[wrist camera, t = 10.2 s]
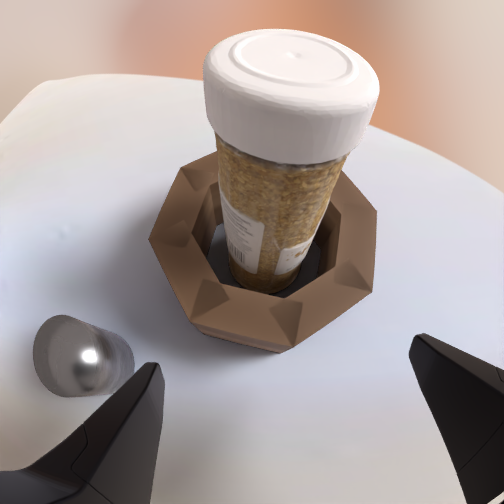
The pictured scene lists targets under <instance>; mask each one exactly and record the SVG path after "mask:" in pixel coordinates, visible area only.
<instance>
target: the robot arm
mask: <svg viewBox="0 0 504 504" xmlns="http://www.w3.org/2000/svg"><path fill="white" fill-rule="evenodd" d="M409 359H410V362H411V364H412V367H413V370H414V372H415V375H416V378H417V380H418V383H419V386H420V389H421V391H422V393H423V395H424V397H425V400H426V402H427V404H428V406H429V408H430V410H431V412H432V415H433V417H434V419H435V421H436V424H437V426H438V428H439V431H440V433H441V435H442V438H443V440H444V442H445V445H446V447H447V450H448V452H449V455H450V457H451V460H452V462H453V465H454V468H455V470H456V473H457V476H458V479H459V482H460V485H461V487H462V490H463V493H464V496H465V499H466V503H467V504H487V503H489V502H490V501H492V500H493V499H494V498H496V497H497V496H498V495H500V494H501V493H502V492H504V370H502V369H500V368H498V367H495V366H494V365H491V364H489V363H487V362H485V361H483V360H481V359H479V358H476V357H474V356H472V355H470V354H468V353H466V352H464V351H462V350H459V349H457V348H455V347H453V346H451V345H449V344H447V343H445V342H442V341H440V340H438V339H436V338H434V337H432V336H430V335H427V334H425V333H422V334H418V335H415V337H414V338H413V341H412V344H411V347H410V350H409ZM164 390H165V381H164V378H163V374H162V371H161V368H160V365H159V364H158V363H156V362H147V363H145V364H144V365H143V366H142V367H141V368H140V369H139V370H138V371H137V372H136V373H135V374H134V375H133V376H131V377H130V378H129V379H128V380H127V381H126V382H125V383H124V384H123V385H122V386H121V387H120V388H119V389H118V390H117V391H116V392H115V393H114V394H113V395H112V396H111V397H110V398H109V399H108V400H107V401H105V402H104V403H103V404H102V405H101V406H100V407H99V408H98V409H97V410H96V411H95V412H94V413H93V414H92V415H91V416H90V417H89V418H88V419H87V420H86V421H85V422H84V424H81V425H80V426H79V427H78V428H77V429H76V430H75V431H74V432H73V433H72V434H71V435H69V436H68V437H67V438H66V439H65V440H64V441H62V442H61V443H60V444H59V445H57V446H56V447H55V448H53V449H52V450H51V451H49V452H48V453H47V454H45V455H44V456H43V457H41V458H40V459H39V460H37V461H36V462H34V463H33V464H32V465H30V466H28V467H26V468H24V469H21V470H15V471H0V504H150V499H151V492H152V485H153V478H154V471H155V465H156V459H157V452H158V447H159V441H160V435H161V429H162V421H163V405H164ZM499 504H504V500H503V501H501V502H500V503H499Z"/></svg>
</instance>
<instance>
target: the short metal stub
mask: <svg viewBox="0 0 504 504" xmlns="http://www.w3.org/2000/svg"><path fill="white" fill-rule="evenodd" d="M33 360H34V365H35V369H36V372H37V374H38V376H39V378H40V380H41V382H42V383H43V384H44V386H45V387H46V388H47V389H48V390H49V391H51V392H52V393H54V394H56V395H58V396H61V397H82V396H94V395H105V394H114V393H115V392H116V391H117V390H118V389H119V388H120V387H121V386H122V385H123V384H124V383H125V382H126V381H127V380H128V379H129V378H130V377H131V376H133V374H134V357H133V353H132V351H131V349H130V347H129V345H128V344H127V342H126V341H125V340H124V339H123V338H121V337H120V336H119V335H117V334H115V333H112V332H109V331H107V330H104V329H101V328H98V327H96V326H93V325H91V324H88V323H85V322H83V321H80V320H78V319H75V318H73V317H70V316H67V315H57V316H54V317H51V318H50V319H48V320H47V321H46V322H45V323H44V324H43V325H42V326H41V327H40V329H39V330H38V332H37V335H36V337H35V341H34V346H33Z"/></svg>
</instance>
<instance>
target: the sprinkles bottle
mask: <svg viewBox="0 0 504 504" xmlns="http://www.w3.org/2000/svg"><path fill="white" fill-rule="evenodd" d="M203 80H204V95H205V104H206V113H207V117H208V120H209V122H210V124H211V126H212V128H213V129H214V132H215V137H216V147H217V154H218V164H219V173H218V179H219V190H220V197H221V205H222V212H223V220H224V228H225V235H226V242H227V247H228V250H229V254H228V261H229V267H230V271H231V273H232V275H233V277H234V278H235V279H236V281H237V282H238V283H239V284H240V285H241V286H243V287H244V288H246V289H248V290H250V291H254V292H258V293H263V294H272V293H276V292H278V291H280V290H283V289H285V288H287V287H288V286H289V285H290V284H291V283H292V282H293V281H294V280H295V278H296V277H297V275H298V273H299V271H300V268H301V262H302V260H303V259H304V257H305V256H306V254H307V252H308V249H309V247H310V245H311V243H312V240H313V238H314V236H315V234H316V231H317V229H318V227H319V224H320V222H321V220H322V218H323V216H324V213H325V211H326V209H327V206H328V203H329V200H330V195H331V193H332V191H333V188H334V186H335V184H336V182H337V180H338V178H339V174H340V172H341V169H342V167H343V165H344V162H345V160H346V158H347V156H348V155H349V154H350V152H351V151H352V150H353V149H354V148H355V147H356V146H357V145H358V144H359V142H360V141H361V139H362V138H363V136H364V133H365V131H366V129H367V126H368V124H369V121H370V119H371V116H372V114H373V111H374V108H375V105H376V102H377V99H378V95H379V81H378V78H377V76H376V73H375V72H374V70H373V69H372V68H371V66H370V65H369V64H368V63H367V62H366V61H365V60H364V59H363V58H362V57H361V56H360V55H358V54H357V53H355V52H354V51H353V50H351V49H349V48H348V47H346V46H344V45H342V44H340V43H338V42H336V41H334V40H331V39H328V38H325V37H322V36H319V35H316V34H312V33H307V32H302V31H296V30H286V29H262V30H254V31H248V32H244V33H240V34H237V35H234V36H231V37H229V38H226V39H224V40H223V41H221V42H219V43H218V44H217V45H215V46H214V47H213V48H212V49H211V50H210V51H209V52H208V54H207V55H206V58H205V60H204V64H203Z"/></svg>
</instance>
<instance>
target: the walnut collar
mask: <svg viewBox="0 0 504 504" xmlns="http://www.w3.org/2000/svg"><path fill="white" fill-rule="evenodd" d="M218 173H219V164H218V154H217V151H216V152H214V153H211V154H209V155H207V156H204V157H202V158H200V159H198V160H196V161H193V162H191V163H189V164H187V165H185V166H183V167H181V168H180V170H179V172H178V174H177V176H176V178H175V180H174V182H173V184H172V186H171V189H170V191H169V193H168V195H167V197H166V199H165V202H164V204H163V206H162V208H161V211H160V213H159V215H158V218H157V220H156V222H155V225H154V227H153V229H152V232H151V234H150V237H149V239H148V240H149V241H150V243H151V246H152V248H153V250H154V252H155V254H156V256H157V258H158V260H159V262H160V265H161V267H162V269H163V271H164V273H165V275H166V277H167V279H168V281H169V283H170V285H171V287H172V289H173V291H174V293H175V295H176V296H177V298H178V300H179V302H180V304H181V306H182V308H183V310H184V312H185V313H186V315H187V317H188V319H189V321H190V322H191V323H192V324H193V325H194V326H195V327H196V328H197V329H198V330H200V331H201V332H202V333H203V334H205V335H209V336H212V337H216V338H220V339H223V340H227V341H231V342H235V343H239V344H243V345H247V346H251V347H256V348H260V349H264V350H269V351H273V352H278V353H283V352H285V351H287V350H289V349H291V348H293V347H294V346H296V345H297V344H299V343H301V342H302V341H304V340H305V339H307V338H308V337H310V336H311V335H313V334H314V333H316V332H317V331H319V330H320V329H321V328H323V327H324V326H326V325H327V324H329V323H330V322H332V321H333V320H334V319H336V318H337V317H339V316H340V315H341V314H343V313H344V312H346V311H347V310H348V309H350V308H351V307H352V306H354V305H355V304H356V303H358V302H359V301H360V300H362V299H363V298H364V297H366V296H367V295H369V294H370V293H371V292H372V288H373V277H374V265H375V249H376V224H377V211H376V210H375V208H374V207H373V206H372V205H371V203H370V202H369V201H368V200H367V199H366V197H365V196H364V195H363V194H362V193H361V192H360V190H359V189H358V188H357V187H356V186H355V185H354V184H353V182H352V181H351V180H350V179H349V178H348V177H347V176H346V174H345V173H344V172H343V171H342V170H341V172H340V174H339V178H338V180H337V182H336V184H335V186H334V188H333V191H332V193H331V195H330V200H329V203H328V206H327V209H326V211H325V213H324V216H323V218H322V220H321V222H320V224H319V227H318V229H317V231H316V234H315V236H314V238H313V239H314V241H315V242H316V243H317V245H318V246H319V247H320V249H321V255H320V261H319V268H318V274H317V279H315V280H314V281H312V282H310V283H309V284H307V285H306V286H304V287H303V288H301V289H299V290H298V291H296V292H295V293H293V294H291V295H290V296H288V297H286V298H285V299H284V298H280V297H276V296H271V295H267V294H263V293H258V292H254V291H250V290H246V289H242V288H238V287H234V286H230V285H226V284H222V283H220V282H219V280H218V278H217V277H216V275H215V273H214V272H213V270H212V268H211V266H210V265H209V263H208V261H207V260H206V256H207V253H208V250H209V247H210V244H211V241H212V238H213V235H214V232H215V229H216V226H217V225H219V224H221V223H223V222H224V220H223V212H222V205H221V197H220V190H219V179H218Z"/></svg>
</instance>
